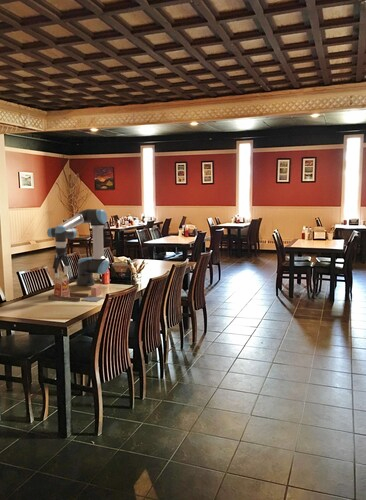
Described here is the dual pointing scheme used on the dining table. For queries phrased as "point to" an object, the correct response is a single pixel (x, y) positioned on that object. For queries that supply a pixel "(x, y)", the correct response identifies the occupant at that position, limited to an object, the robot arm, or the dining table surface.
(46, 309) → the dining table surface
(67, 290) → the milk carton
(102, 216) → the robot arm
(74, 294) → the brown wooden tray
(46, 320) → the dining table surface
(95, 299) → the mat
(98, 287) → the latch block
